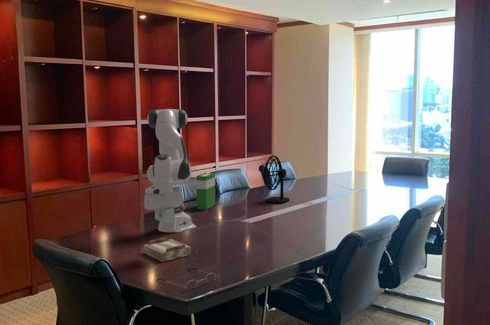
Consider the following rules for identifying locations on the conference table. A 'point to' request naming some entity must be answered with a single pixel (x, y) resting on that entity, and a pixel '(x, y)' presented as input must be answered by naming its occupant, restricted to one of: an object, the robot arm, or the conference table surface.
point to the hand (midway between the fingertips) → (164, 216)
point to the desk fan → (280, 174)
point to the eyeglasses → (191, 280)
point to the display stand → (166, 249)
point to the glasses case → (165, 215)
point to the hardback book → (205, 190)
